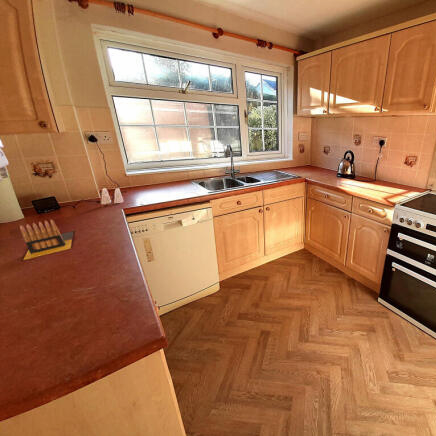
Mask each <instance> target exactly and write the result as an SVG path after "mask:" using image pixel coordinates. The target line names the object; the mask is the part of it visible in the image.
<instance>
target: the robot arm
mask: <svg viewBox="0 0 436 436" xmlns="http://www.w3.org/2000/svg"><path fill="white" fill-rule="evenodd" d="M2 148H5V146H4V143H3V142H2V139H1V138H0V182H2V181H3V179H7V178H9V177H10V175H9V173H8V170H7V169H8V167H7V166H9V164H10V163H9V160H8V158H7V156H6V154H5V152H4V151H3V149H2Z"/></svg>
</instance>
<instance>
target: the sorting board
mask: <svg viewBox="0 0 436 436" xmlns="http://www.w3.org/2000/svg"><path fill="white" fill-rule="evenodd" d="M74 232H75V231H69V232H68V231H67V232H64V233H60V234H61V236H62V238H63V240H64V242H65V246H61V247H57V248H53V249H49V250H45V251H41V252H37V253H32V254H30V252H29V249H27V252H26V253H25V256H24V258H23V259H22V260H23V261H25V260H30V259H35V258H37V257H42V256H45V255H49V254H55V253H57V252H61V251H62V252H63V251H66V250H69V249H72V241H73V237H74ZM45 242H46V241H45ZM39 243H40V242H39ZM33 245H34V244H33ZM34 247H35V246H34Z"/></svg>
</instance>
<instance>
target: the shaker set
mask: <svg viewBox="0 0 436 436" xmlns="http://www.w3.org/2000/svg"><path fill="white" fill-rule="evenodd" d="M122 195H123V194H122V193H121V190H120V188H119V187H117V188H115V190H114V200H113V201H114V202H113V204H122V203H123V202H125V201H124V197H123V196H122ZM111 203H112V200H111V197H110V194H109V191H108V189H107V188H106V187H103V188H102V190H101V200H100V204H101V205H103V206H108V205H111Z"/></svg>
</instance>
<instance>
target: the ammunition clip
mask: <svg viewBox="0 0 436 436" xmlns="http://www.w3.org/2000/svg"><path fill="white" fill-rule="evenodd" d="M26 229H27V230H26ZM19 230H20V232H21V234H22V238H23V240H24V242H25V245H26V247H27V250H29V252H30V254H32V253H37V252H41V251H45V250H49V249H53V248H57V247H61V246H65V242H64V240H63V238H62V236H61V234H62V233H61V232H60V230H59V228H58V226H57V225H56V223H55V222H54V220H53V219H50V224H49V222H48V221H47V220H44V225H43V223H42V222H41V221H38V225H37V224H36V223H35V222H33V223H32V227H31V226H30V224H29V223H26V228H25V227H24V226H23V225H20V226H19ZM45 241H46V242H45ZM39 242H40V243H39ZM33 244H34V245H33ZM34 246H35V247H34Z"/></svg>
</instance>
